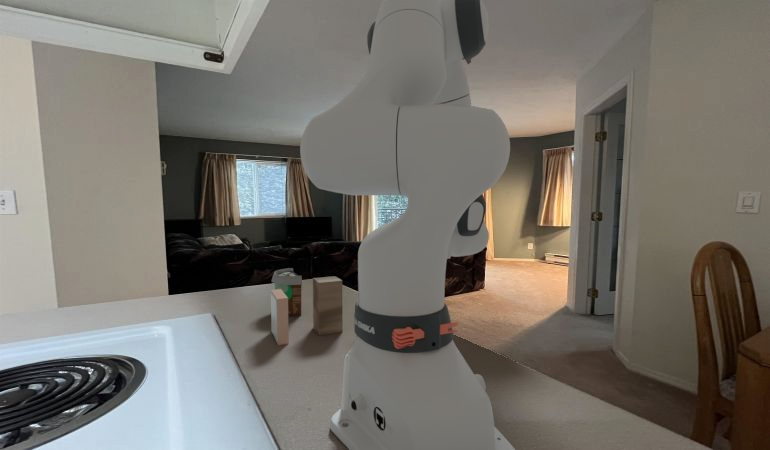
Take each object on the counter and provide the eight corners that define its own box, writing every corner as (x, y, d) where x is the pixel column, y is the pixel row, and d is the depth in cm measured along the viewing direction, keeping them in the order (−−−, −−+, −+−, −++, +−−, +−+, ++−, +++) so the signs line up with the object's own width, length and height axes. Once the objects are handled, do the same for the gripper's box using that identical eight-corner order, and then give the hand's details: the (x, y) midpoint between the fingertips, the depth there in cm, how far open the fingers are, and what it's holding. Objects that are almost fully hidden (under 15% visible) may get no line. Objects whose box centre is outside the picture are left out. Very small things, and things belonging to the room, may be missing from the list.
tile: (288, 343, 68) (288, 297, 67) (277, 345, 67) (276, 299, 66) (281, 330, 75) (280, 288, 75) (271, 331, 74) (270, 290, 74)
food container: (269, 306, 92) (268, 269, 92) (293, 304, 95) (292, 267, 94) (275, 320, 81) (275, 278, 81) (302, 317, 84) (302, 276, 83)
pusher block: (342, 331, 74) (342, 280, 74) (319, 335, 72) (319, 282, 71) (335, 324, 79) (335, 276, 78) (313, 327, 77) (312, 278, 76)
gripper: (408, 225, 95) (361, 227, 89) (455, 231, 77) (399, 233, 71) (408, 248, 95) (361, 251, 89) (455, 259, 77) (399, 264, 71)
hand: (378, 243), depth 80 cm, fingers open, 8 cm apart
